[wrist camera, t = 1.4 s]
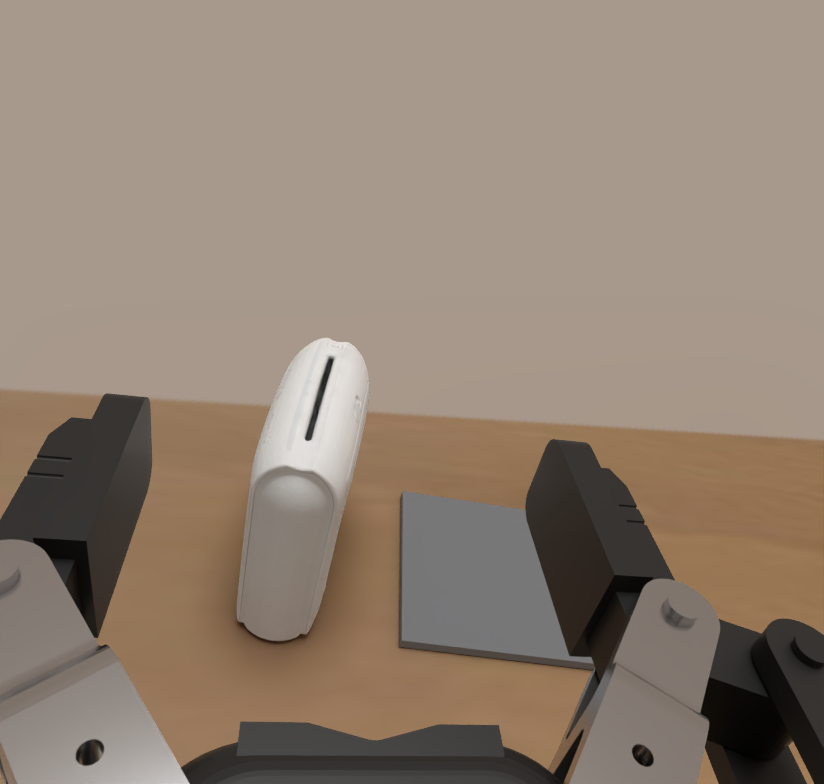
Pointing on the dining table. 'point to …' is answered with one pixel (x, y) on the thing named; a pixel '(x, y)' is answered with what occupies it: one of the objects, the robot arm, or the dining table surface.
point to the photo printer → (301, 488)
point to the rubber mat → (475, 584)
